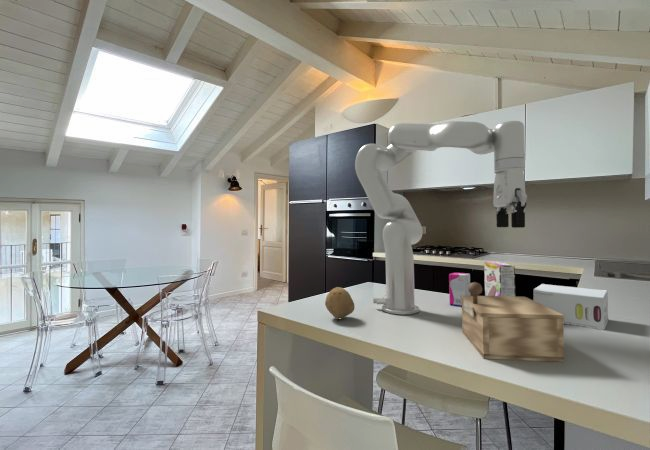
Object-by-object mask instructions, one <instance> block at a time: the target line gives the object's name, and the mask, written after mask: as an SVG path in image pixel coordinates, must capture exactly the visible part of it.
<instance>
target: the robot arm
mask: <svg viewBox="0 0 650 450" xmlns="http://www.w3.org/2000/svg"><path fill="white" fill-rule="evenodd" d="M387 139H388V142H389V143H390V144H389V145H388V146H387V147H385V146H383V145H380V144H377V143H366V144H364V145H363V146H362V147H361V148H360V149H359V150H358V152H357V153H356V156H355V161H354V169H355V174H356V177H357V178H358V181H359V183H360V184H361V186H362V188H363V190H364V193H365V194H366V197H367V199H368V201H369V204H370V205H371V206H372V209H373V211H374V212H375V215H376V216H377V217H378V218H380V219H384V220H389V221H388V222H387V223H386V224H385V225H384V227H383V229H382V240H383V246H384V253H385V254H384V256H385V257H384V258H385V292H386V293H385V295H384V296H382V297H373V299H372V301H373V304H376V305H381V309H382V311H383V312H384V313H388V314H392V315H402V316H403V315H405V316H406V315H414V314H418V313H420V307H419V306H418V305H417V304H415V266H414V265H415V262H414V260H415V259H414V252H413V247H412V246H413V245H416V244H417V243H419V242H420V241H421V240H422V237H423V232H424V231H423V227H422V224H421V222H420V220H419V218H418V217H417V215H416V213H415V210H414V209H413V207H412V205H411V203H410V201H409V200H408V199H407V198H406V197H405V196H403V195H401V194H399V193H394V192H393V191H392V189H391V187H390V186H389V184H388V182H387V179H386V177H385V176H384V175H383V174H382V172H383V171H384V172H385V171H386V172H387V171H391V170H393V169H395V168H396V167H397V166H399V165H400V164H401V163H402V162H404V161H405V160H407V159H408V158H409V157H410V156H412V155H413V154H414V153H416V152H417V151H427V152H434V151H436V150H437V149H439V148H454V149H455V148H457V149H466V150H469V151H470V152H472V153H474V154H476V155H487V154H491V153H494V154H493V155H494V157H493V158H494V159H493V161H494V162H493V163H494V166H493V169H494V174H495V176H494V183H493V196H492V197H493V206H494V207H495V209H496V210H495V217H496V220H495V221H496V227H497V228H509V223H510V222H511V228H514V229H515V228H517V229H518V228H525V227H526V212H527V210H526V209H527V208H526V207H527V200H528V195H527V194H526V183H525V181H526V180H525V173H524V172H525V171H526V164H525V163H526V158H525V155H526V154H525V153H526V151H525V148H526V147H525V143H526V142H525V125H524V123H523V122H522V121H520V120H507V121H503V122H500V123H498V124H496V126H495V127H494V128H493V129H492V128H489V127H488V126H486V124H484V123H480V122H477V121H465V120H464V121H459V120H458V121H455V120H452V121H445V122H438V123H411V122H409V123H408V122H407V123H405V122H403V123H400V122H399V123H396V124H394V125H392V126H391V127H390V129H389V130H388V134H387ZM381 171H382V172H381ZM509 208H511V210H512V212H511V214H510V215H511V216H510V217H511V219H509V213H508V211H509ZM510 220H511V221H510ZM509 221H510V222H509Z"/></svg>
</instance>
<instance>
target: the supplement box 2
mask: <svg viewBox="0 0 650 450" xmlns="http://www.w3.org/2000/svg"><path fill="white" fill-rule="evenodd" d="M608 291H609V290H606V289H596V288H585V287H576V286H565V285H556V284H554V285H553V284H545V283H541V284H540V285H538V286H537V287H535V288H533V298H532V300H533V301H535V302H537V303H539V304H542V305H544V306H546V307H548V308H550V309H552V310H554V311H556V312H558V313H560V314H562V315H564V319H563V325H564V324H565V325H570V324H571V325H570V326H576V325H579V326H578V327H582V326H585V327H584V328H589V327H591V328H590V329H595V328H598V329H597V330H601V329H602V330H601V331H605V330H606V327H607V324H608V321H609V304H608V303H609V302H608V301H609V296H608V295H609V293H608Z"/></svg>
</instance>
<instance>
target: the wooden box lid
mask: <svg viewBox="0 0 650 450" xmlns="http://www.w3.org/2000/svg"><path fill="white" fill-rule="evenodd" d="M468 291H469V293H470V295H471V296H460V299H461V300H462V301H463V302H464V310H465V311H466V312H467V313H468V314H469V315H470V316H471V317H473V318H474V311H475V312H476V313H477V314H478V315H479V316H481V317H505V318H545V319H564V315H562V314H560V313H558V312H556V311H554V310H552V309H550V308H548V307H546V306H544V305H542V304H539V303H537V302H535V301H533V299H531V298H530V297H526V296H518V295H517V296H516V295H515V296H485V295H481V294H482V293H483V287H482V285H481V283H479V282H476V281H473V282H470V284H469V286H468Z"/></svg>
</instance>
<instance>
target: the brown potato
mask: <svg viewBox="0 0 650 450" xmlns="http://www.w3.org/2000/svg"><path fill="white" fill-rule="evenodd" d="M324 305H325V308H326V309H327V311H328V312H329V313H330V314H331V315H332V317H333V318H335V319H337V318H343V319H345V318H346V317H347V316H348V315H350V314H352V313H353V312H354V311H355V302H354V300H353V298H352V297H351V295H350V293H349V292H348V291H347V290H346V289H345V288H344V287H341V286H340V287H339V286H336V287H334V288H332V289H331V290H330V291H329V292H328V293H327V295H326V297H325V302H324Z"/></svg>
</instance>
